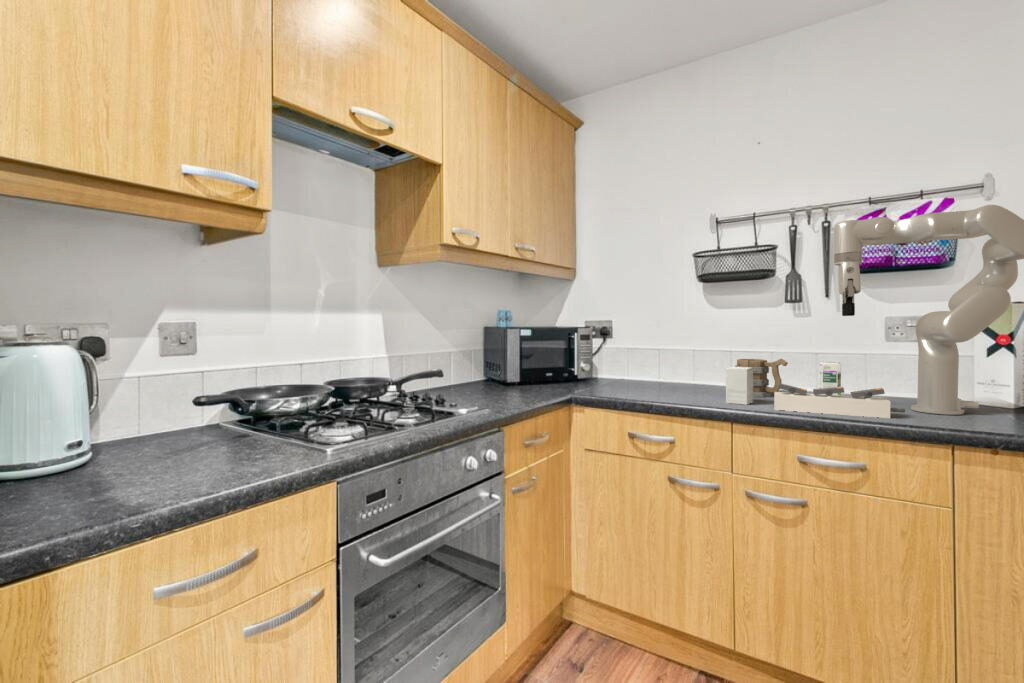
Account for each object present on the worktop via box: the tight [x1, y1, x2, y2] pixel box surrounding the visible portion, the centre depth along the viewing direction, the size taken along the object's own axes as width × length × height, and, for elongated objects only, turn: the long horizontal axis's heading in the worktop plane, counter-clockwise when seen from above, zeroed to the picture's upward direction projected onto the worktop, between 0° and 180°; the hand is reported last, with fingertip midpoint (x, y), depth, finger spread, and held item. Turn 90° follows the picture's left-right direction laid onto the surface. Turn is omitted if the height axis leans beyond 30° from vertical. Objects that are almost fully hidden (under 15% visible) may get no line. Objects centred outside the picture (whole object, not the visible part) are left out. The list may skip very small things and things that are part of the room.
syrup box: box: [819, 361, 842, 395], centre depth 168 cm, size 6×6×14 cm
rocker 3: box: [850, 387, 886, 398], centre depth 147 cm, size 8×4×2 cm, turn 61°
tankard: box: [734, 358, 788, 398], centre depth 186 cm, size 20×13×15 cm, turn 30°
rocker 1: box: [778, 382, 808, 395], centre depth 157 cm, size 8×4×2 cm, turn 61°
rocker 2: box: [812, 386, 845, 396], centre depth 152 cm, size 8×4×2 cm, turn 61°
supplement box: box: [725, 366, 754, 406], centre depth 170 cm, size 7×7×13 cm
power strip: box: [773, 391, 906, 419], centre depth 151 cm, size 34×8×5 cm, turn 61°
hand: (848, 315), depth 156 cm, fingers closed
